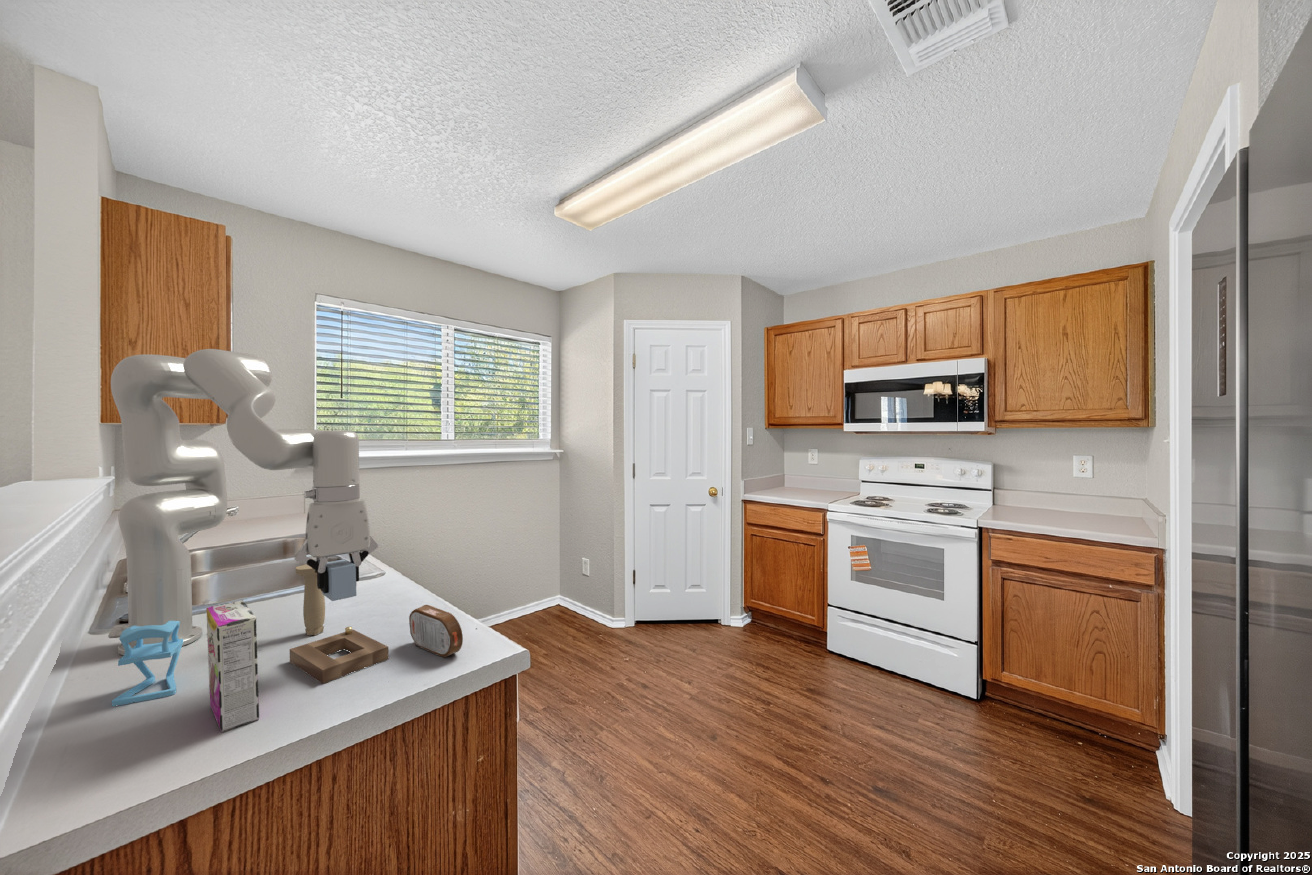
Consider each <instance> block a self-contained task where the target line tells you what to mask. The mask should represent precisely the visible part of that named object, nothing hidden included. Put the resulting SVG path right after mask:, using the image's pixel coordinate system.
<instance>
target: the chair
mask: <svg viewBox="0 0 1312 875" xmlns="http://www.w3.org/2000/svg"><path fill="white" fill-rule="evenodd" d="M179 627H180V621H168V622H167V623H166V624H164V625H147V626H142V627H141V626H139V627H138V626H131V627H129V628H127V629H125V630H124V631H123V632H122V633H121V635H120V637H119V638H118V639H119V641H120V642H121V643H122V645H123V647H124V649H125V654H124V655H122V657H121V658H118V660H117V662H118V663H117V665H118V666H119V667H120V666H126V665H130V664H134V665H135V666H136V667H137V669H138V670H139V671H140V672H141V673H142V674H143V676H144V677H145V679H144V680H143V681H141V682H140V683H138V684H136V685H134V686H133V687H131V688H129V689H128V690H126V691H125V692H123V693H121V694H119V695H118V696H116V697H115V698H114V699H112V700H111V707H113V706H114V707H117V706H116V705H120V706H124V704H125V705H128V704H129V703H130V704H133V702H135V703H140V702H145V701H150V700H155V699H161V698H165V697H170V696H174V695H176V693H177V684H176V681H175V670H176V666H177V664H178V660H179V656H180V653H181V650H182V647H183V646H182V644H183V639H179V638H178V630H179ZM172 632H173V633H172ZM171 633H172V636H171V637H172V641H168V640H169V636H170V635H171ZM145 638H164V639H163V642H161V643H155V644H145V645H143V639H145ZM132 641H136V646H134V647H133V648H132V649H131V647H130V645H129V644H128V643H129V642H132ZM121 643H120V644H121ZM167 658H171V660H170V663H169V666H168V669H167V671H166V674H165V681H166V686H167V689H162V690H158V691H152V692H147V693H146V692H145V693H141V694H137V693H139V692H141V691H142V690H144V689H146V688H147V687H149V686H151V685H152V684H153V683H155V682H156V675H155V674H154V673H153V672H152V670H150V668H149V667H148V666H147V664H146V663H145V662H144V661H149V660H163V659H167ZM135 693H136V694H137V695H136V694H135Z"/></svg>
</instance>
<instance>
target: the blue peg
mask: <svg viewBox="0 0 1312 875" xmlns="http://www.w3.org/2000/svg"><path fill="white" fill-rule="evenodd" d="M326 568H327V572H328V575H329V592H328V593H325V594H324V593H323V592H322V594H323V595H324V597H326V598H327V599H328V600H330V601H331V602H336V601H342V600H345V599H349V598H353V597H357V581H356V565H355V564H353V563H351V562H350V560H347V559H339V560H334V561H327V565H326Z"/></svg>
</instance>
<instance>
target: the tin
mask: <svg viewBox="0 0 1312 875" xmlns="http://www.w3.org/2000/svg"><path fill="white" fill-rule="evenodd" d="M408 619H409V623H408V624H409V633H410V635H411V636H410V637H411V638H412V641H413V642H414V643H415V644H416V646H417V647H418V648H421V649H423V650H425V651H427V650H428V651H427V652H430V653H433V654H434V655H436V654H437V656H439V657H441V656H442V658H447V657H449V656H452V655H453V654H456V653H458V652H459V651H460V650H461V648H462V646H463V643H464V640H463V638H464V637H463V630H462V627H461V624H460V622H459V620H458V619H457V618H456V617H455V615H454V614H452V613H451V612H449V611H446V610H443V609H441V608H438V607H435V606H432V605H429V604H423V605H422V606H419V607H417V608H415V609H413V610H412V611H411V612H410V614H409V616H408Z"/></svg>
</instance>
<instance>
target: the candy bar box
mask: <svg viewBox="0 0 1312 875" xmlns="http://www.w3.org/2000/svg"><path fill="white" fill-rule="evenodd" d="M205 609H206V630H207V631H206V633H207V634H206V635H207V636H206V638H207V640H206V641H207V657H208V658H207V659H208V661H207V662H208V688H209V706H210V708H211V711H212V713H213V715H214V716H213V717H215V720H216V722H217V726H218V728H219V731H220V732H221V733H223V732H227V731H231V730H233V729H236V728H238V727H241V726H244V725H246V724H250V723H252V722H255V721H258V720H259V719H260V702H259V700H260V699H259V698H260V696H259V693H260V692H259V691H260V690H259V668H258V666H259V665H258V659H259V658H258V639H257V638H258V637H257V636H258V635H257V634H258V632H257V617H256V615H255V614H254V613H253V611H252V610H251V609H250V607H249V606H248V605H247V604H246V602H245V601H244V600H243V599H242V600H237V601H232V602H227V603H222V604H215V605H212V606H211V605H210V606H209V607H206V608H205Z"/></svg>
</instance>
